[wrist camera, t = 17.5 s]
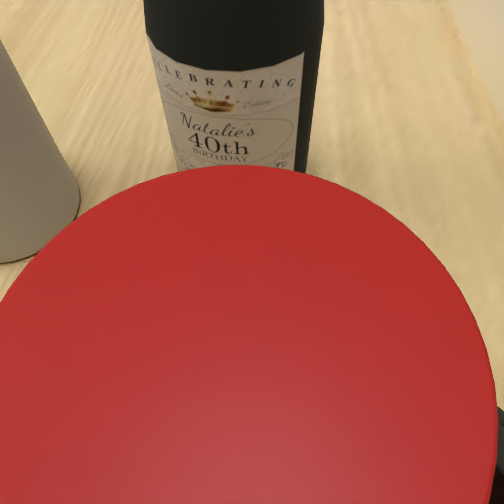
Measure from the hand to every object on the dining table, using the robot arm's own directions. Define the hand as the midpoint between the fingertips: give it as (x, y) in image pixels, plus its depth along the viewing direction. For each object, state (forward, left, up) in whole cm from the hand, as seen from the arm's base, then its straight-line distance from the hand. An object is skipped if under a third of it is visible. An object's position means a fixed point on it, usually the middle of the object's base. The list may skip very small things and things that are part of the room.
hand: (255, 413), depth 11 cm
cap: (+1, +1, +4) cm, 4 cm away
